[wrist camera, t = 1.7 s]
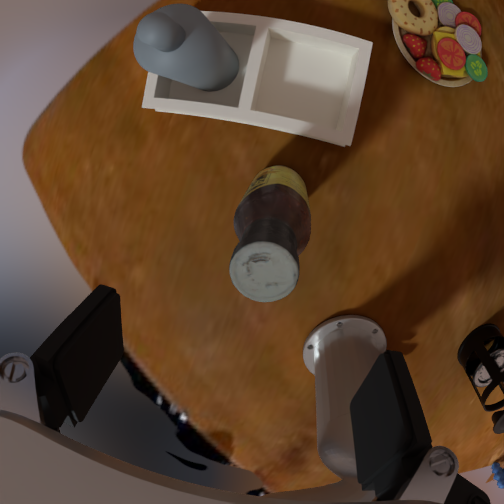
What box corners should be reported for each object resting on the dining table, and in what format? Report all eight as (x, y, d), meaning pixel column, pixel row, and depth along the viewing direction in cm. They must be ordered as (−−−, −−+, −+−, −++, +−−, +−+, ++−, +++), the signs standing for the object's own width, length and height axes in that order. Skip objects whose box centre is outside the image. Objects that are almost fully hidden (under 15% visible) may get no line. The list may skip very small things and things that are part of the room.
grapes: (506, 459, 59) (514, 482, 48) (491, 469, 62) (499, 492, 51) (502, 453, 57) (511, 479, 46) (486, 464, 59) (494, 490, 48)
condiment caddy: (364, 51, 27) (419, -1, 12) (343, 146, 32) (389, 165, 17) (177, 21, 28) (104, -33, 12) (158, 111, 33) (68, 110, 17)
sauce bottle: (261, 156, 34) (227, 192, 16) (313, 174, 34) (340, 232, 16) (244, 208, 37) (198, 295, 18) (294, 225, 37) (296, 327, 18)
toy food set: (376, -11, 24) (383, -21, 21) (463, 1, 21) (474, -6, 18) (401, 86, 29) (411, 83, 26) (486, 91, 26) (499, 90, 23)
